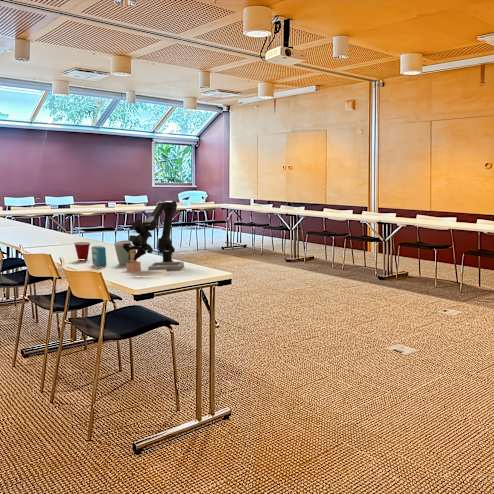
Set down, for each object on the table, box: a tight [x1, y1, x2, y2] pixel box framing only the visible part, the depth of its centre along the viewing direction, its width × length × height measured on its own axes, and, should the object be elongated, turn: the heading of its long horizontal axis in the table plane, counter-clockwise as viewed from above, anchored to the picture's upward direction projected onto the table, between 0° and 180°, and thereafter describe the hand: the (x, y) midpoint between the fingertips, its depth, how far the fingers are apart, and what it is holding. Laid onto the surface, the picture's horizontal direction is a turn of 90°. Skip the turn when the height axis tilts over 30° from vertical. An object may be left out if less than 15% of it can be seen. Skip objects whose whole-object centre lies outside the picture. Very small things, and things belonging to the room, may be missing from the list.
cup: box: [125, 261, 142, 272], centre depth 317 cm, size 8×8×5 cm
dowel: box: [130, 250, 138, 263], centre depth 316 cm, size 4×4×11 cm
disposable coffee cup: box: [114, 239, 132, 266], centre depth 339 cm, size 11×11×15 cm
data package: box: [91, 245, 107, 267], centre depth 341 cm, size 12×4×12 cm, turn 37°
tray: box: [147, 261, 185, 272], centre depth 322 cm, size 16×18×2 cm
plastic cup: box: [73, 241, 91, 260], centre depth 367 cm, size 11×11×12 cm
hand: (131, 259), depth 315 cm, fingers closed on dowel, 4 cm apart
